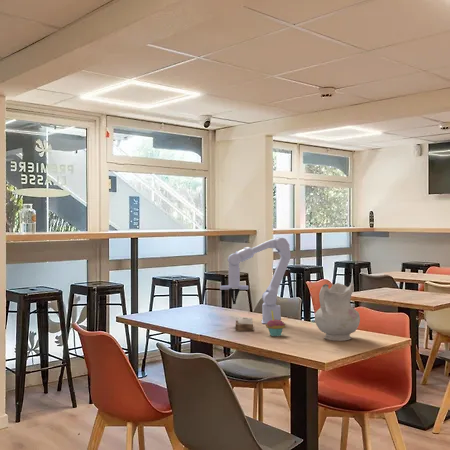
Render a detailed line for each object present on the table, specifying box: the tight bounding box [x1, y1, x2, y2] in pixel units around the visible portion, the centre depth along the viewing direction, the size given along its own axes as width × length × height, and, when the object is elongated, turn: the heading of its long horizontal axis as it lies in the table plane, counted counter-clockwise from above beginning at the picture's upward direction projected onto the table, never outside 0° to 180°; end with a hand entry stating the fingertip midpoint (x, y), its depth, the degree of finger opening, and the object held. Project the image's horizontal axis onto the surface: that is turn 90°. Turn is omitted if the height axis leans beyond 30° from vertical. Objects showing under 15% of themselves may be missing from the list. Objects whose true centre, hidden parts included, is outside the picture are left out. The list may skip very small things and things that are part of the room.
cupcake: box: [265, 309, 286, 337], centre depth 256 cm, size 9×8×12 cm
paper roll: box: [237, 316, 253, 324], centre depth 272 cm, size 7×7×5 cm
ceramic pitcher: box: [314, 282, 361, 342], centre depth 247 cm, size 22×20×25 cm
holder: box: [235, 320, 254, 332], centre depth 272 cm, size 8×11×3 cm
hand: (234, 303), depth 287 cm, fingers closed
